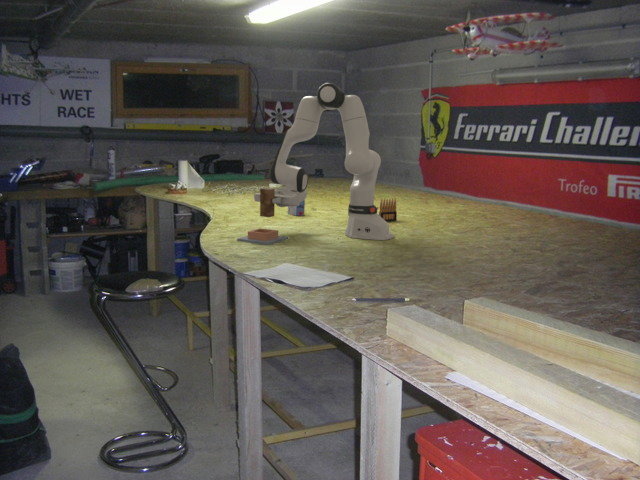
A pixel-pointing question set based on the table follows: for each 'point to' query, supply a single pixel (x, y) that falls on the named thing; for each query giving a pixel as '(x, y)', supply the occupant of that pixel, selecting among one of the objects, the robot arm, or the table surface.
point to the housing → (263, 237)
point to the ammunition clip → (388, 210)
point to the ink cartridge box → (297, 209)
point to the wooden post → (267, 202)
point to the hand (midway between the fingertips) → (266, 200)
